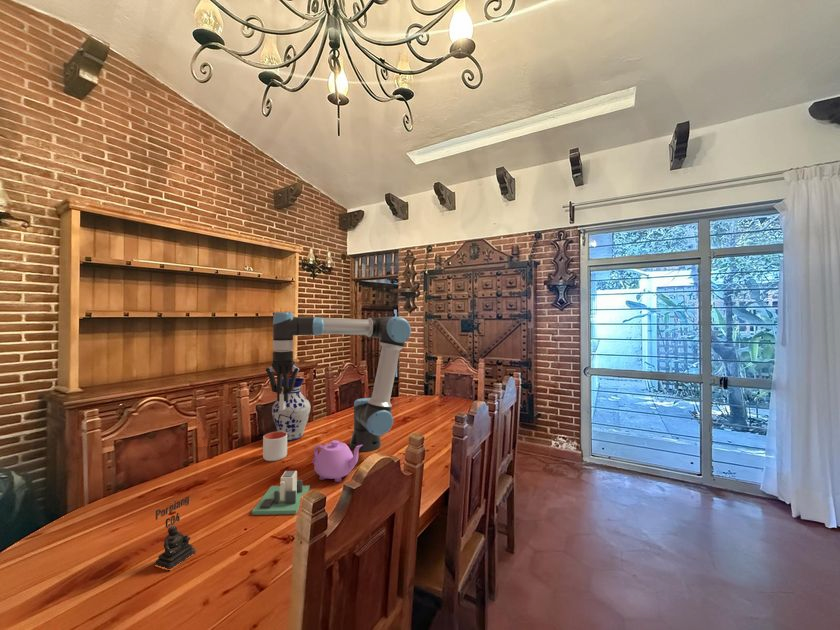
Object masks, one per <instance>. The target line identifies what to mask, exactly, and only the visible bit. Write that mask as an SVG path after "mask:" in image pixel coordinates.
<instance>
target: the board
mask: <svg viewBox="0 0 840 630" xmlns="http://www.w3.org/2000/svg"><path fill="white" fill-rule="evenodd" d="M310 485H311V484H309V485H306V484H305V485H304V484H303V491H302V492H297V494H296V503H295V504H286V501H280V485H271V486H270V487H269V488H268V490H267V491H266V493H264V495H263V496H262V497H261V499H260V500H259V501H258V503H257V504H256V505H255V506H254V507H253V509H252V511H251V515H252V516H264V515H265V516H266V515H267V516H268V515H269V516H270V515H271V516H273V515H274V516H275V515H297V513H298V512H299V510H300V508H299V506H300V499H301V496H302V495H303V494H305V493H307V492H308V493H309V491H310V489H311V488H310V487H311V486H310ZM275 491H279V503H278V504H274V492H275ZM308 493H307V494H308ZM300 507H301V506H300Z"/></svg>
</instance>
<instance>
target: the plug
mask: <svg viewBox="0 0 840 630" xmlns="http://www.w3.org/2000/svg"><path fill="white" fill-rule="evenodd" d="M297 480H298V471H297V470H285V471H284V472H283V474H282V475H281V477H280V483H279V484H280V485H279V486H280V501H286V491H296V494H297Z"/></svg>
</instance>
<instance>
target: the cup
mask: <svg viewBox="0 0 840 630" xmlns="http://www.w3.org/2000/svg"><path fill="white" fill-rule="evenodd" d="M286 456H288V441H287V433H286V432H278V431H272V432H269V433H266V434H264V435H263V436H262V457H263V460H265V461H267V462H277V461H281V460H283V459H284V458H286Z"/></svg>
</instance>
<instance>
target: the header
mask: <svg viewBox="0 0 840 630" xmlns="http://www.w3.org/2000/svg"><path fill="white" fill-rule="evenodd" d="M303 483H304V482H303V479H297V492H302V491H303V486H304V484H303ZM278 503H279V491H275V492H274V504H278ZM295 503H296V491H286V504H295Z"/></svg>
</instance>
